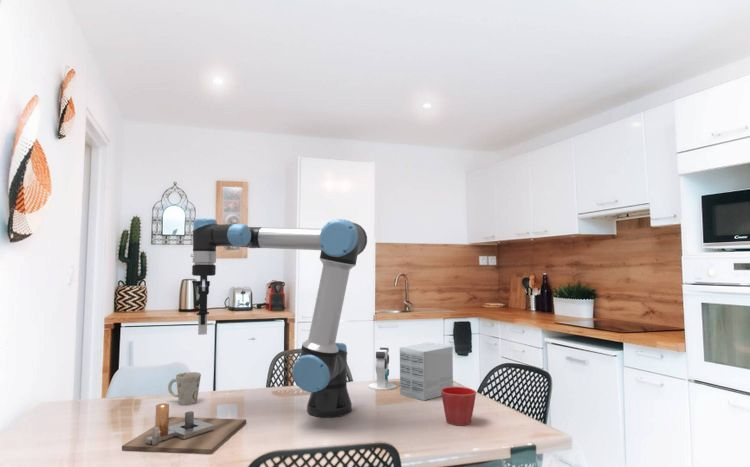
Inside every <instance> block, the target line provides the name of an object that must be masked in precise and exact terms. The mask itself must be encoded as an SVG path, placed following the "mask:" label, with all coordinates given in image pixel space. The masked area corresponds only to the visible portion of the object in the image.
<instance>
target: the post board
mask: <svg viewBox="0 0 750 467" xmlns="http://www.w3.org/2000/svg"><path fill="white" fill-rule="evenodd" d="M194 415H195V412H194V411H190V410H189V411H186V412H184V417H183V416H182V417H181V416H180V417H179V416H177V417H176V416H175V417H174V416H169V426H171V425H175V424H178V423H181V422H185V429H191V428H194V419H196V420H200V421H203V422H206V423H209V424H213V425H214V430H210V431H207V432H204V433H201V434H198V435H195V436H192V437H189V438H186V439H182V438H179V437H176V436H175V437H172V438H169V439H166V440H162V441H159V427H155V426H153V427H152V428H150V429H148V430H146V431H145V432H143V433H141V434H139V435H137V436H135V437H134V438H133V439H131V440H130V441H127V442H126V443H124V444H123V445H121V451H124V452H125V451H126V452H128V451H129V452H151V453H175V454H176V453H177V454H179V453H180V454H195V455H196V454H200V455H212V454H213V453H214V452H216V451H217V450H218V449H219V448H220V447H221V446H223V445H224V444H225V442H227V441H228V440H230V439H231V437H232V436H234V435H235V434H236V433H237V432H239V431H240V429H242V428H243V427H244V426H245V425H246V424H247V419H244V418H243V419H241V418H239V419H238V418H210V417H195V416H194ZM150 436H152V444H148V443H146V442H145V438H147V437H150Z"/></svg>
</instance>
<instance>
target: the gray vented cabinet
mask: <svg viewBox="0 0 750 467" xmlns="http://www.w3.org/2000/svg"><path fill="white" fill-rule="evenodd" d="M453 353H454V352H453V346H452V345H447V344H441V343H434V342H424V343H420V344H413V345H407V346H402V347H399V394H400V395H401V396H405V397H409V398H412V399H416V400H419V401H424V402H425V401H427V400H431V399H434V398H439V397H442V394H441V390H442V389H443V388H447V387H454V378H453V377H454V375H453V374H454V367H453V364H454V361H453V360H454V359H453V358H454V357H453V356H454V354H453Z"/></svg>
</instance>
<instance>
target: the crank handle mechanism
mask: <svg viewBox="0 0 750 467" xmlns="http://www.w3.org/2000/svg"><path fill="white" fill-rule="evenodd" d="M169 418H170V403H166V402H165V403H159V404H156V405H155V419H154V420H155V424H154V427H159V441H162V440H166V439H169V438H172V437H175V436H176V437H179V438H182V439H186V438H189V437H192V436H195V435H198V434H201V433H204V432H207V431H210V430H214V425H213V424H209V423H206V422H203V421H200V420H196V419H194V428H191V429H185V422H181V423H178V424H175V425H171V426H169ZM145 442H146V443H148V444H152V436H150V437H147V438H145Z"/></svg>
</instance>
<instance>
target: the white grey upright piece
mask: <svg viewBox="0 0 750 467" xmlns="http://www.w3.org/2000/svg"><path fill="white" fill-rule="evenodd" d="M389 350H390V348H389V347H379V349H378V350H376V352H375V373H376V382H372V383H369V384H368V388H369V389H372V390H375V391H376V390H377V391H390V390H394V389H395V388H397V385H396V384H395V383H392V382H389V375H390V369H389V363H390V354H389Z"/></svg>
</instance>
